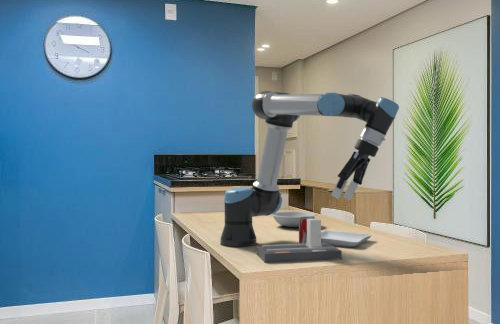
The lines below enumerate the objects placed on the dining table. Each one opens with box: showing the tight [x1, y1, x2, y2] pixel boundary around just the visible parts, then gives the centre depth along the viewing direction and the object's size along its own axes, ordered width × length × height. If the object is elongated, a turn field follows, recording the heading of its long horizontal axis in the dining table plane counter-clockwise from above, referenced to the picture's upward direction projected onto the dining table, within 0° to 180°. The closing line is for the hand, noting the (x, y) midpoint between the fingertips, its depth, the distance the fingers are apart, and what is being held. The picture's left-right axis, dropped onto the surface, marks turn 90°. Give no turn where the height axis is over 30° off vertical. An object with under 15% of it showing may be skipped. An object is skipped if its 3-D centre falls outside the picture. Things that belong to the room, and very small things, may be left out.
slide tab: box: [306, 218, 322, 248], centre depth 165 cm, size 6×4×10 cm, turn 11°
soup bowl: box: [270, 210, 318, 228], centre depth 236 cm, size 24×24×7 cm
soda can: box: [298, 216, 316, 244], centre depth 182 cm, size 7×7×12 cm
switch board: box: [256, 243, 342, 263], centre depth 164 cm, size 13×28×4 cm, turn 101°
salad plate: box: [321, 230, 372, 248], centre depth 192 cm, size 21×21×3 cm
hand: (340, 198), depth 156 cm, fingers open, 13 cm apart
